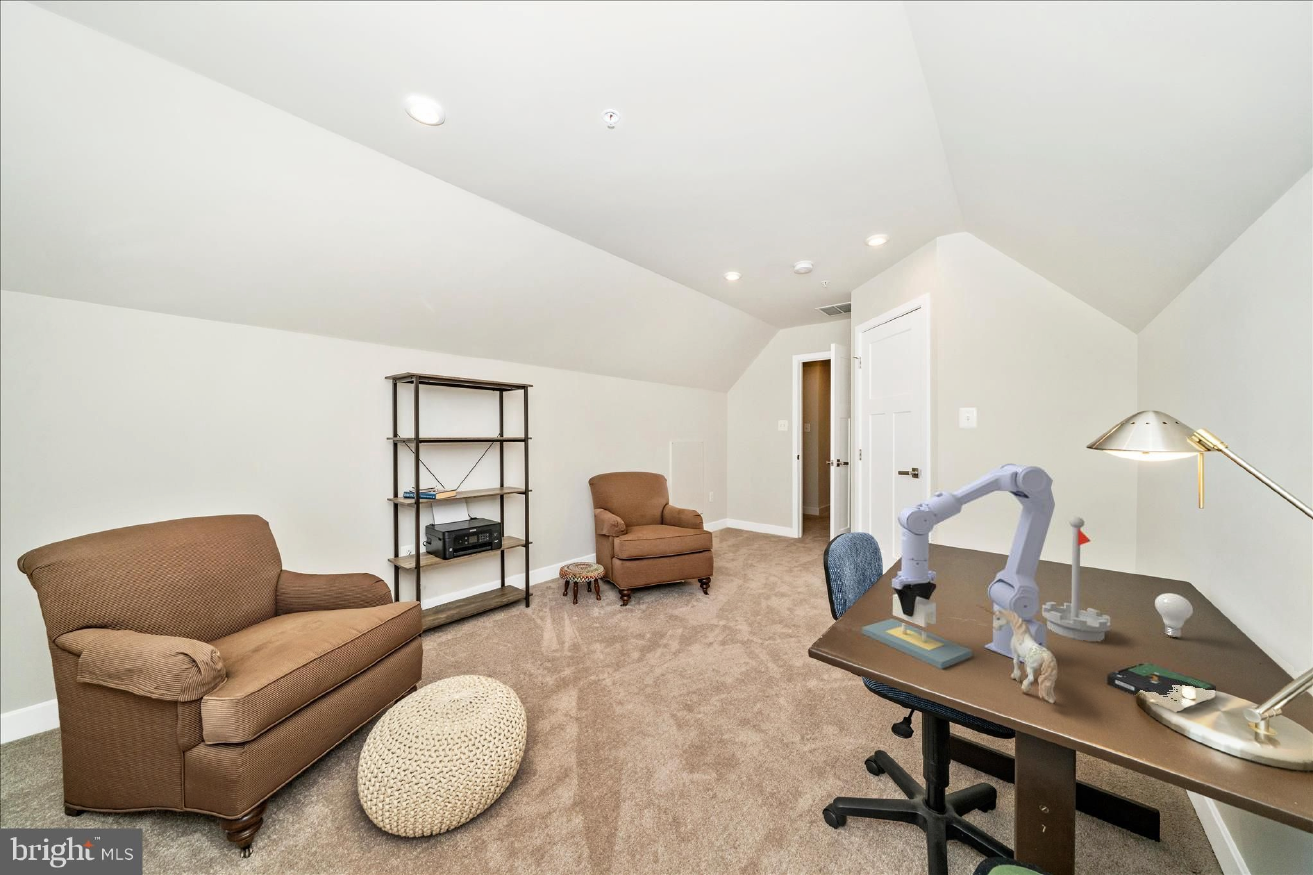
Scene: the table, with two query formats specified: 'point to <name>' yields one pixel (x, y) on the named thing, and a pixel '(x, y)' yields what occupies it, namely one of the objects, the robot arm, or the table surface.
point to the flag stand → (1076, 601)
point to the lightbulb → (1173, 612)
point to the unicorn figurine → (1027, 654)
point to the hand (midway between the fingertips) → (914, 613)
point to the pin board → (917, 643)
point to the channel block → (917, 611)
